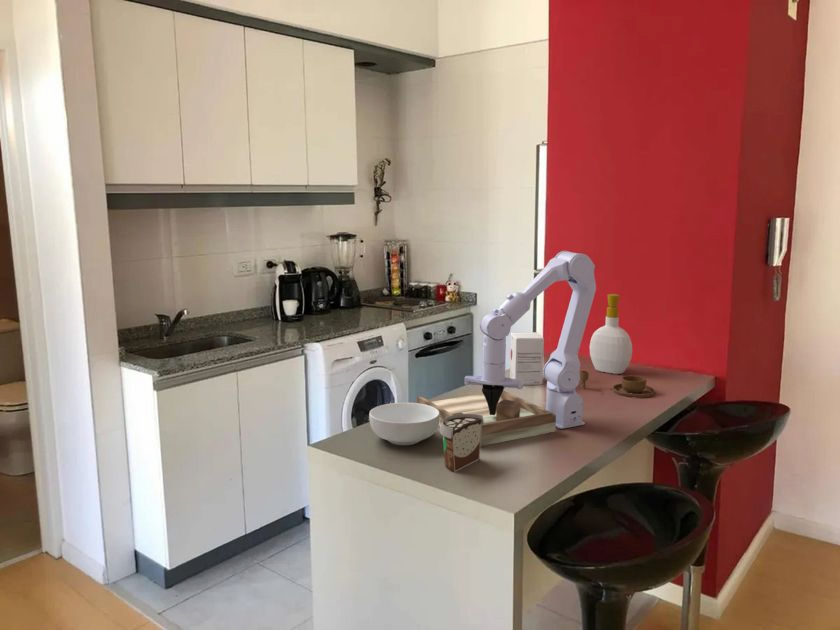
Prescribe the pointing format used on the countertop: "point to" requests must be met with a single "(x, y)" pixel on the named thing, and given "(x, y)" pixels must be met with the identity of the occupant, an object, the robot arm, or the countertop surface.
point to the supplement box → (527, 357)
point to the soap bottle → (611, 343)
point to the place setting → (626, 385)
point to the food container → (461, 440)
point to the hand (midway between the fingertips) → (492, 413)
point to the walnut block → (507, 410)
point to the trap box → (495, 431)
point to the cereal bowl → (404, 422)
